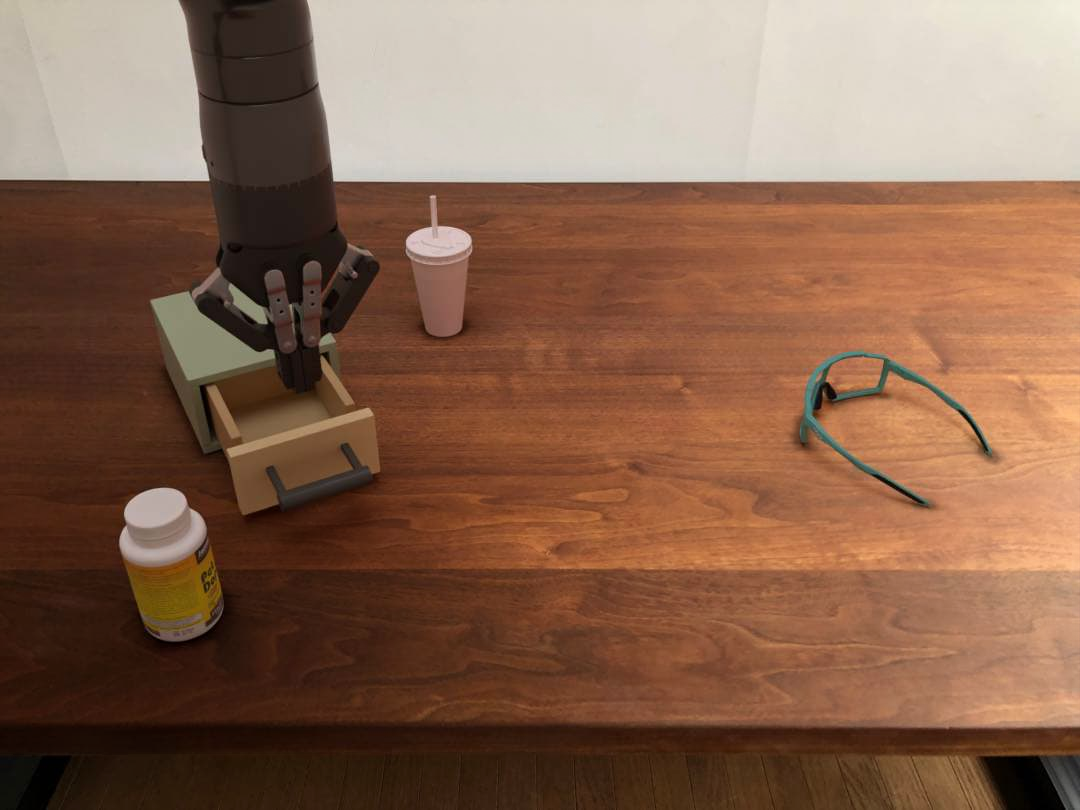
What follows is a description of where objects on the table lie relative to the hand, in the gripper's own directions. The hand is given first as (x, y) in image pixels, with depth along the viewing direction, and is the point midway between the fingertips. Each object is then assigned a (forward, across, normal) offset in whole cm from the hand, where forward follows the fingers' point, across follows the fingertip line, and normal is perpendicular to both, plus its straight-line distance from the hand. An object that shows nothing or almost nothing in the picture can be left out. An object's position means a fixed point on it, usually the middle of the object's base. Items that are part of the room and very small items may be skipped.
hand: (302, 386), depth 75 cm
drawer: (+12, 0, +7) cm, 14 cm away
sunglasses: (+13, +46, -13) cm, 50 cm away
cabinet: (+13, 0, +20) cm, 24 cm away
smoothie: (+13, +20, +22) cm, 33 cm away
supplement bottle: (+13, -12, -5) cm, 18 cm away
